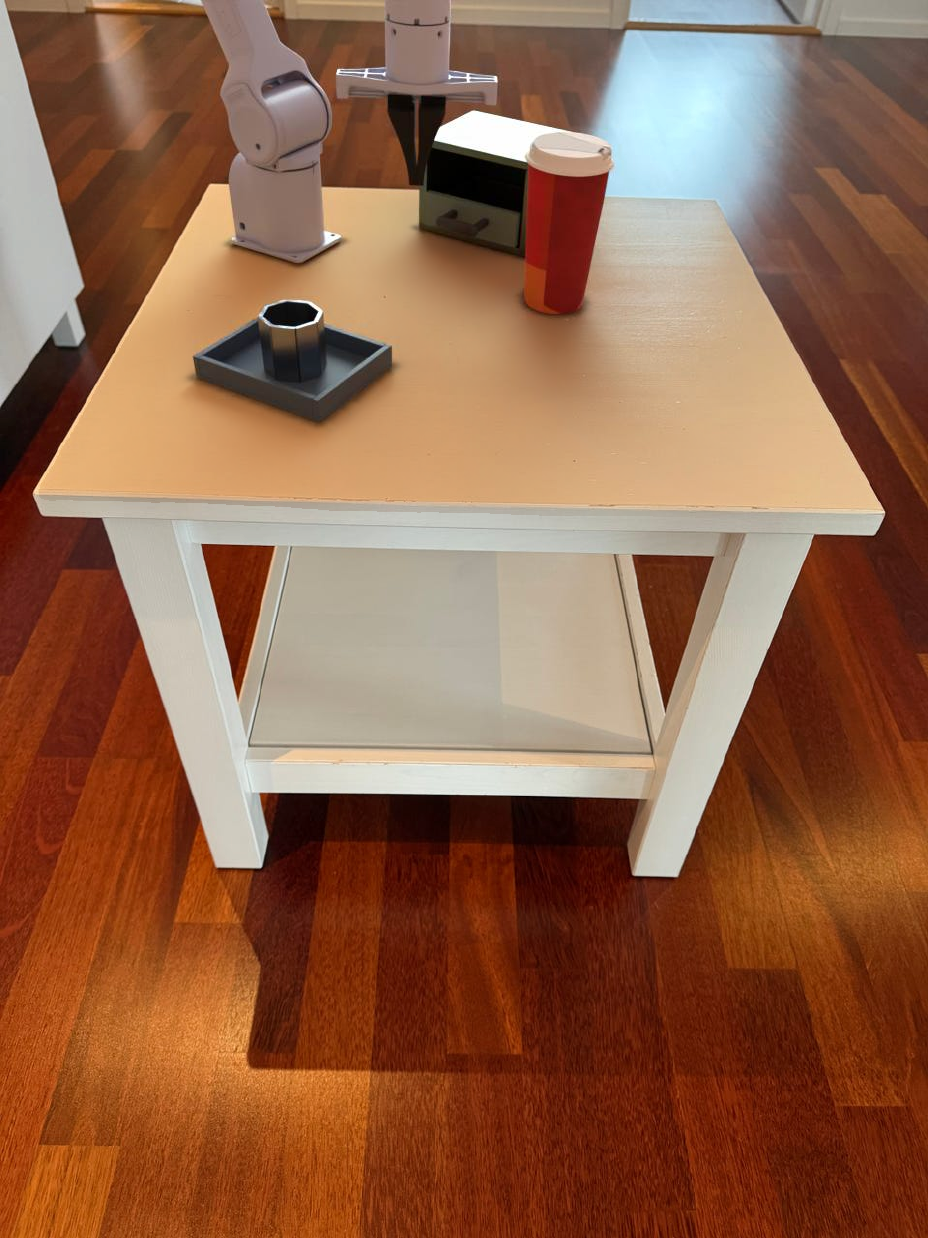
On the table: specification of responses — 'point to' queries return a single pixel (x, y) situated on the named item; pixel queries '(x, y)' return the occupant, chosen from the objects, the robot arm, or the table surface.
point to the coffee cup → (563, 217)
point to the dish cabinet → (480, 163)
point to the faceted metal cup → (292, 340)
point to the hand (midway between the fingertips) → (416, 181)
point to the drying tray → (315, 399)
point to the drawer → (479, 210)
